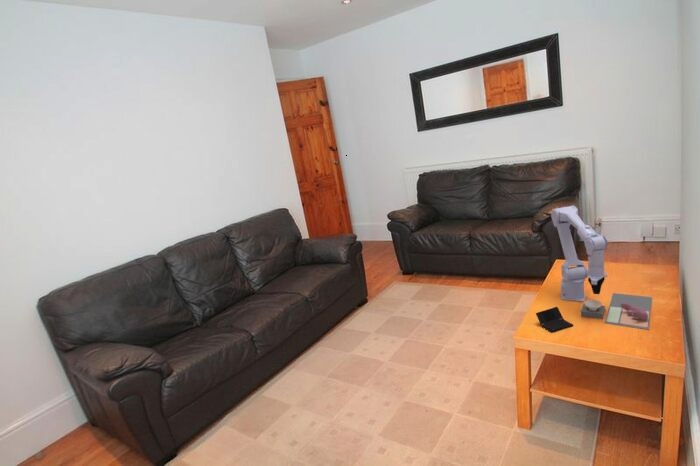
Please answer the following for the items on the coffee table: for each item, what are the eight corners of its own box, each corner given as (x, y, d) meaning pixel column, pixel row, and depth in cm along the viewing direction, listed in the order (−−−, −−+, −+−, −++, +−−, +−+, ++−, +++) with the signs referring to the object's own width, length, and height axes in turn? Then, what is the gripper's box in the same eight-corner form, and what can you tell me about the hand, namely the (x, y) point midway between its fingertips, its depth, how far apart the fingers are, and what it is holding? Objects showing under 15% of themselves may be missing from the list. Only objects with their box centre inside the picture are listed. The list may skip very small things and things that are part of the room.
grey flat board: (604, 323, 158) (604, 322, 158) (613, 293, 180) (613, 292, 180) (648, 329, 149) (648, 329, 149) (652, 297, 170) (652, 297, 170)
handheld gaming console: (556, 331, 156) (544, 308, 160) (543, 336, 162) (533, 313, 166) (576, 326, 160) (564, 303, 164) (563, 330, 166) (552, 308, 170)
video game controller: (633, 321, 154) (652, 321, 153) (633, 311, 153) (652, 310, 152) (619, 312, 163) (636, 312, 162) (619, 302, 163) (637, 301, 162)
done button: (583, 312, 166) (583, 304, 165) (586, 306, 170) (585, 299, 169) (600, 314, 162) (600, 306, 161) (602, 308, 166) (602, 300, 165)
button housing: (580, 316, 166) (580, 311, 165) (584, 308, 172) (583, 303, 171) (602, 319, 161) (602, 314, 160) (605, 311, 167) (605, 305, 166)
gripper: (605, 271, 153) (605, 302, 156) (609, 258, 163) (609, 287, 167) (585, 269, 157) (585, 299, 160) (590, 257, 168) (590, 285, 171)
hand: (596, 293), depth 164 cm, fingers closed
